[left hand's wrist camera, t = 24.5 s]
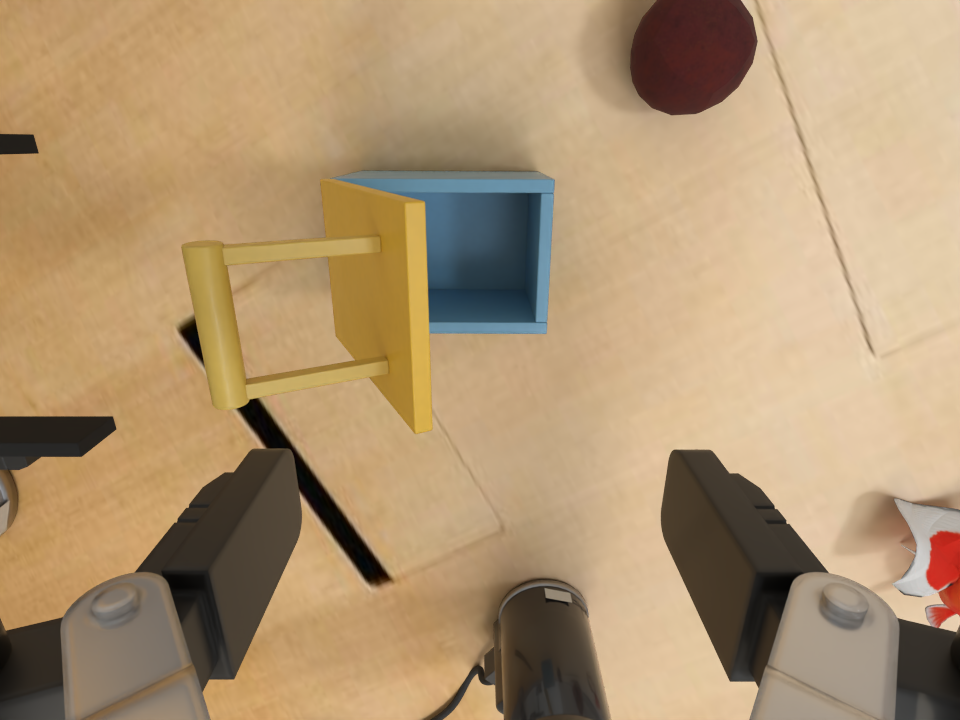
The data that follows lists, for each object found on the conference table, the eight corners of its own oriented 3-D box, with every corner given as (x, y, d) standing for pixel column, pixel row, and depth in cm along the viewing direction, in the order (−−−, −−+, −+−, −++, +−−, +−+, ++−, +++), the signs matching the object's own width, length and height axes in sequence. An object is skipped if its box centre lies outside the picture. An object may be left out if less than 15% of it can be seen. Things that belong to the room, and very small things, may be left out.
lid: (426, 200, 20) (171, 212, 17) (433, 430, 24) (225, 480, 20) (334, 178, 32) (174, 182, 29) (348, 334, 36) (207, 355, 32)
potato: (664, -27, 36) (704, -64, 30) (749, 46, 38) (805, 26, 32) (596, 76, 39) (620, 62, 32) (679, 140, 40) (717, 140, 34)
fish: (894, 659, 54) (1002, 705, 44) (820, 510, 55) (910, 523, 45) (973, 607, 56) (1094, 641, 46) (900, 466, 57) (1002, 469, 48)
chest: (538, 171, 41) (554, 179, 33) (533, 296, 45) (546, 333, 36) (361, 170, 41) (329, 178, 33) (370, 295, 45) (343, 333, 36)
